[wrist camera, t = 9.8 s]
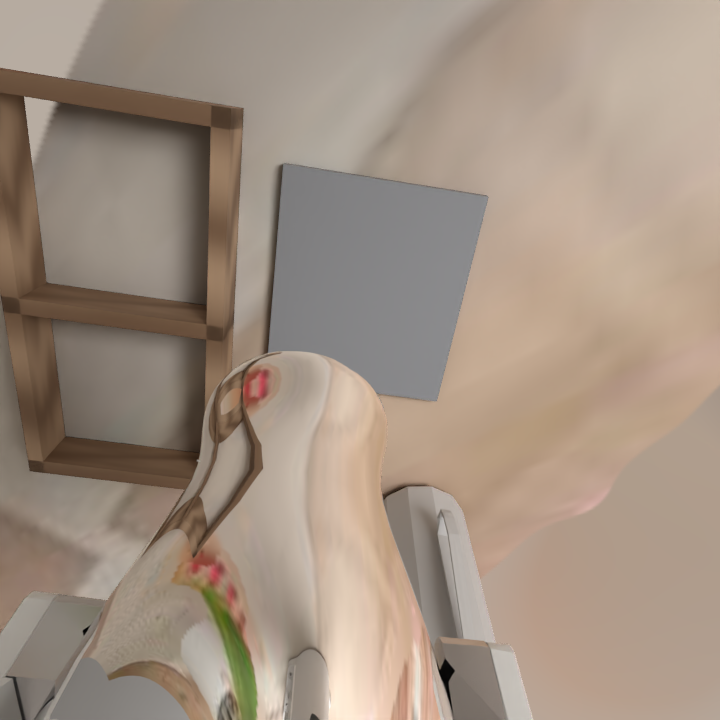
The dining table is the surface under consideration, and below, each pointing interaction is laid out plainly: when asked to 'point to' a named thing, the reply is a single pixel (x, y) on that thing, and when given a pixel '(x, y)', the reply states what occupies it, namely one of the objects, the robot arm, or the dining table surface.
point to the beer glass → (267, 572)
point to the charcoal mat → (372, 274)
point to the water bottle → (439, 562)
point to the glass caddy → (45, 300)
